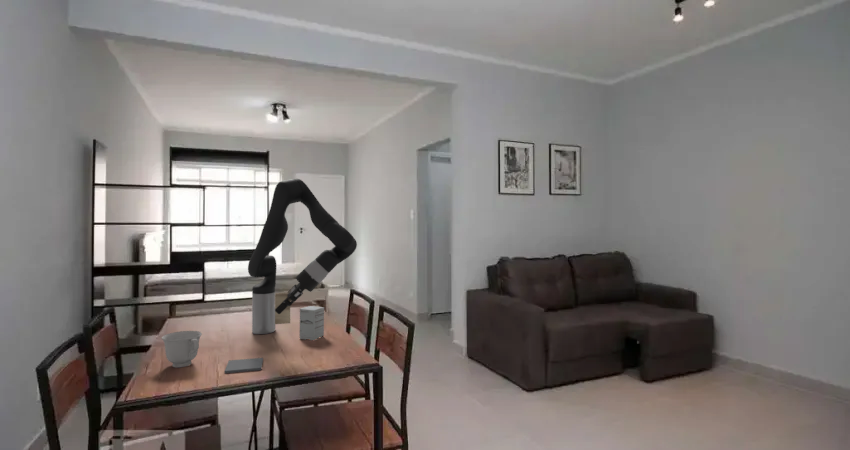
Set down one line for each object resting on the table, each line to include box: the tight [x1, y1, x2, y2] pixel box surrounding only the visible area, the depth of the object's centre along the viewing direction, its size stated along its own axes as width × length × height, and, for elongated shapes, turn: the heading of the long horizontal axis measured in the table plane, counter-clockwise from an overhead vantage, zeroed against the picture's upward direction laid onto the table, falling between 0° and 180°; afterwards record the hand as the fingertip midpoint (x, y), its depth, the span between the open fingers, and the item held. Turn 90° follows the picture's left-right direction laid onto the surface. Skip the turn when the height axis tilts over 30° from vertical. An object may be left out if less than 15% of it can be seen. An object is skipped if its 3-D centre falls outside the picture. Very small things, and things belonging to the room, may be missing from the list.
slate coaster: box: [224, 357, 264, 374], centre depth 147 cm, size 11×11×1 cm
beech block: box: [275, 292, 291, 325], centre depth 155 cm, size 5×5×10 cm
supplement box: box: [298, 305, 325, 341], centre depth 183 cm, size 7×7×13 cm
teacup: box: [161, 330, 203, 368], centre depth 148 cm, size 12×15×10 cm
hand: (277, 310), depth 155 cm, fingers closed on beech block, 5 cm apart
